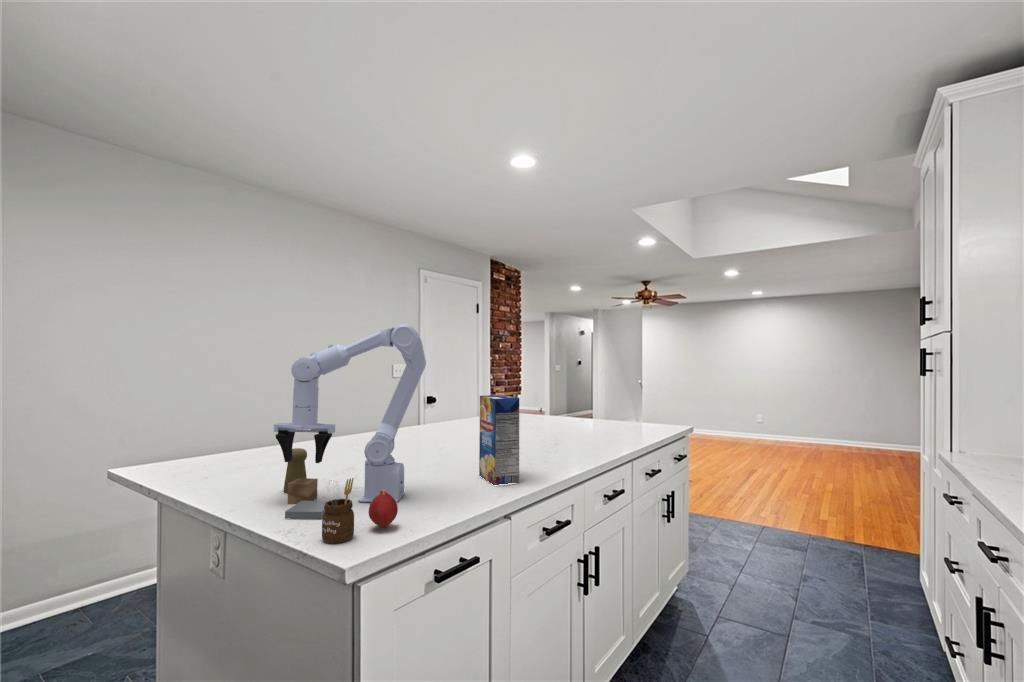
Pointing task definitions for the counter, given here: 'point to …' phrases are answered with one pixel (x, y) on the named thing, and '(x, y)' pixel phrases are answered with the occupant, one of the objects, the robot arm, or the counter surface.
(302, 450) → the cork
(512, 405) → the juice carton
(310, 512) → the slate base
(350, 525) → the utensil holder
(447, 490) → the counter surface
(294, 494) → the walnut cube
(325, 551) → the counter surface
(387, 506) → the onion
